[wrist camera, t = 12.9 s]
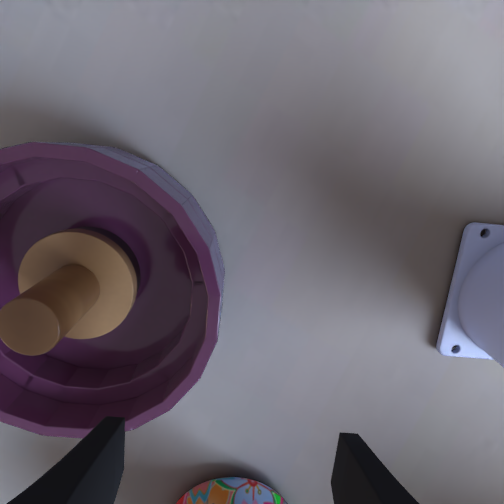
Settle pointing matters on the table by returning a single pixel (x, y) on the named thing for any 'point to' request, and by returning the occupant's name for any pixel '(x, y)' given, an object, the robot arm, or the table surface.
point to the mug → (231, 492)
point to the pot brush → (70, 290)
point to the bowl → (147, 299)
